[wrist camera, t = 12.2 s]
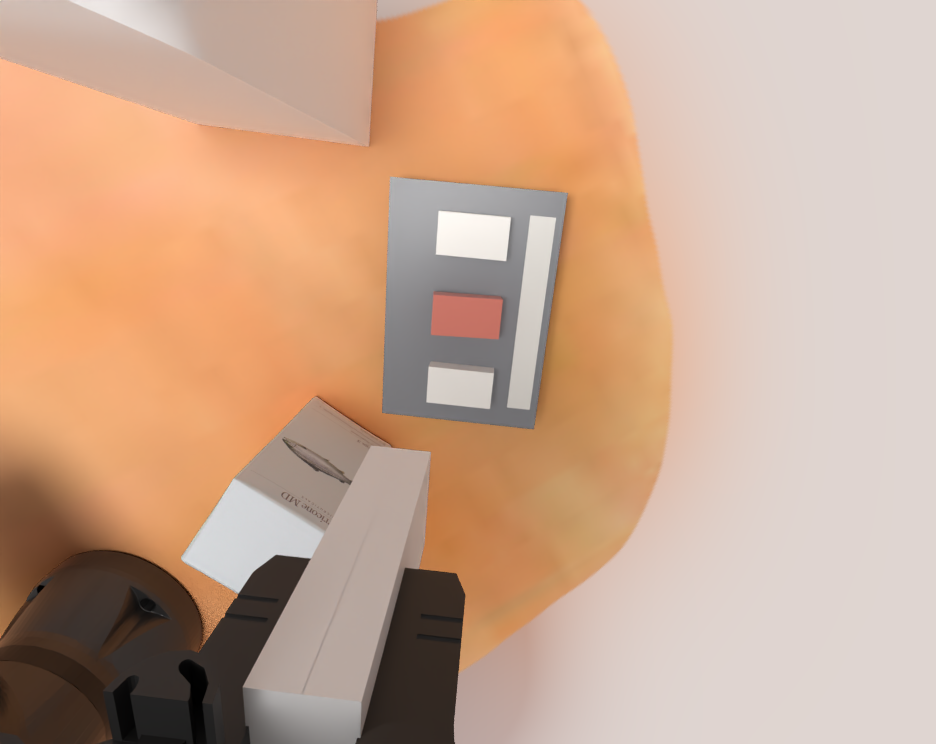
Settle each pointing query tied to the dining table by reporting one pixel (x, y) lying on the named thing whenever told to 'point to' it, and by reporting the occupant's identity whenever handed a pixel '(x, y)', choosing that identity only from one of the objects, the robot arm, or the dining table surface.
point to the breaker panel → (469, 272)
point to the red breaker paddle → (466, 315)
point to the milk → (211, 58)
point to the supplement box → (282, 496)
